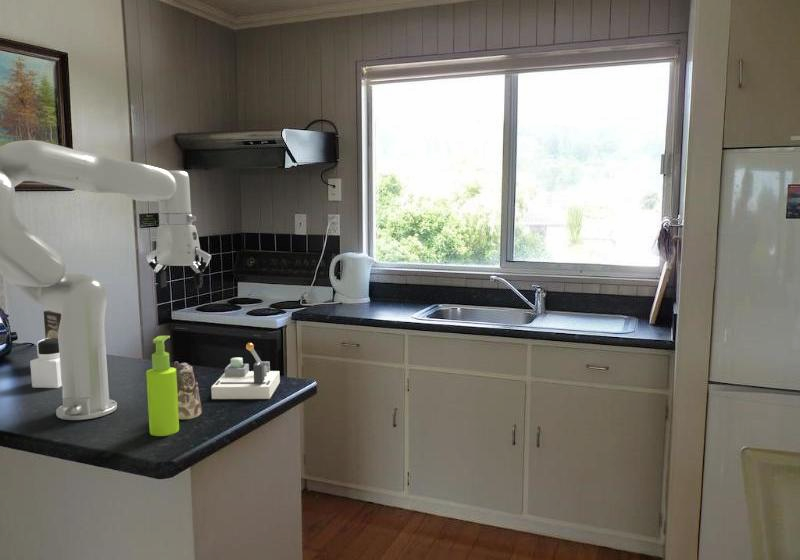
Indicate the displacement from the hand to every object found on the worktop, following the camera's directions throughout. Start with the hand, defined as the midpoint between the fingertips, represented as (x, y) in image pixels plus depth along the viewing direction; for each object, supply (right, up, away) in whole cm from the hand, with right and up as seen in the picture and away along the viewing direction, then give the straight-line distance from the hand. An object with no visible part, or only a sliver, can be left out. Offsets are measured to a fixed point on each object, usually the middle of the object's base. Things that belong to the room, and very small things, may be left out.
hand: (180, 287), depth 171 cm
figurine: (+7, -29, -19) cm, 35 cm away
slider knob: (+21, -23, -6) cm, 32 cm away
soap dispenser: (+6, -30, -29) cm, 42 cm away
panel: (+17, -26, -1) cm, 31 cm away
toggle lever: (+21, -21, +2) cm, 30 cm away
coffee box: (-41, -23, +23) cm, 52 cm away
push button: (+14, -21, +2) cm, 25 cm away
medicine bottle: (-35, -25, +5) cm, 43 cm away
